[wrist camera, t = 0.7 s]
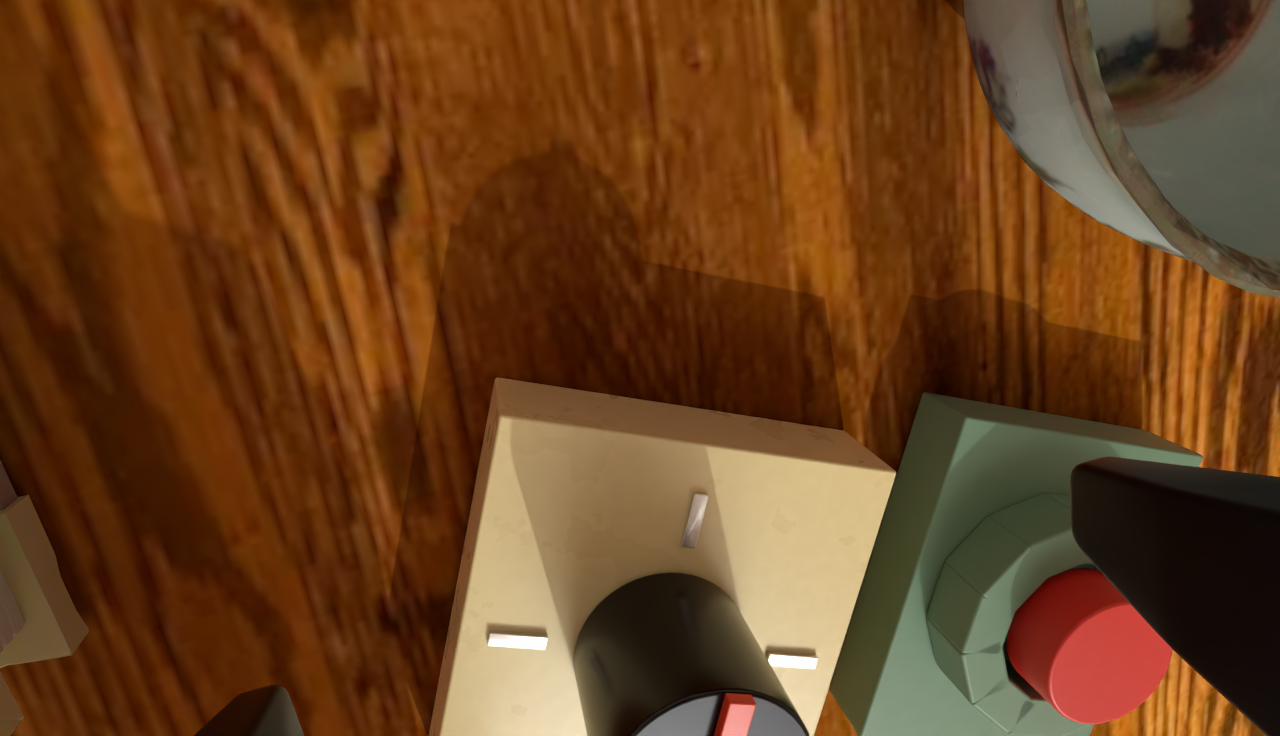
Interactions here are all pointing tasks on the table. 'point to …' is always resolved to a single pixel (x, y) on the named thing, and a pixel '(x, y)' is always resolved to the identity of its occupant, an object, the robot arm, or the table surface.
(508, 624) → the panel
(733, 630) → the stove knob
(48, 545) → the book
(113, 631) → the table surface
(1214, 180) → the bowl
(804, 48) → the table surface
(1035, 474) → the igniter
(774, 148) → the table surface
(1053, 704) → the button
